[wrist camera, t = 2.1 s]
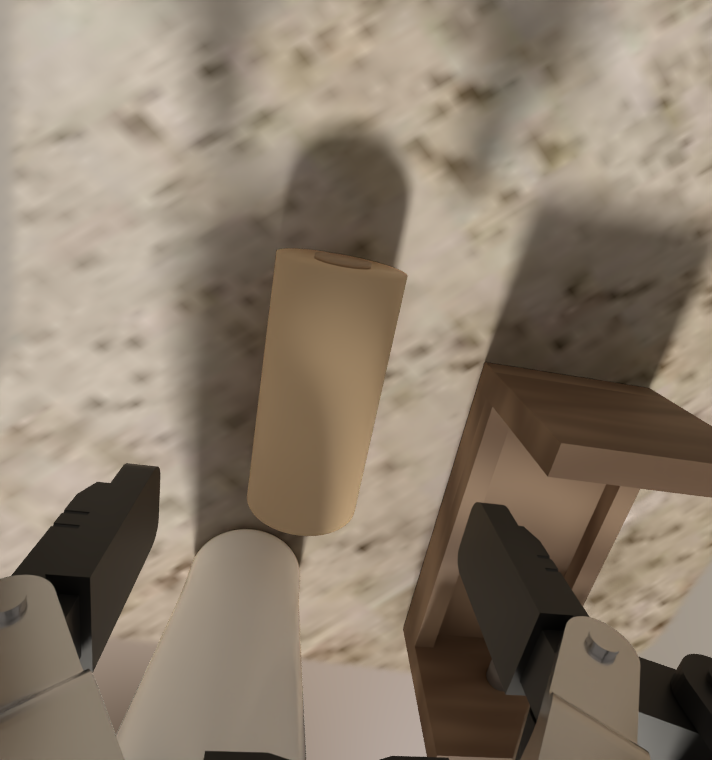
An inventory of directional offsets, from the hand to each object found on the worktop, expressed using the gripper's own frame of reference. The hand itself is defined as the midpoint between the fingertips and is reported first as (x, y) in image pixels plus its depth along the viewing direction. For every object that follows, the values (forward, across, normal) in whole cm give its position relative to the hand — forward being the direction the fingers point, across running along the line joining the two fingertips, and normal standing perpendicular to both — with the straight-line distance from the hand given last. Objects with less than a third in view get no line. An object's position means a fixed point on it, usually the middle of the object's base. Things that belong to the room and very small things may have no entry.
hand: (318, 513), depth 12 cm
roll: (+9, 0, 0) cm, 9 cm away
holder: (+9, -11, +6) cm, 15 cm away
